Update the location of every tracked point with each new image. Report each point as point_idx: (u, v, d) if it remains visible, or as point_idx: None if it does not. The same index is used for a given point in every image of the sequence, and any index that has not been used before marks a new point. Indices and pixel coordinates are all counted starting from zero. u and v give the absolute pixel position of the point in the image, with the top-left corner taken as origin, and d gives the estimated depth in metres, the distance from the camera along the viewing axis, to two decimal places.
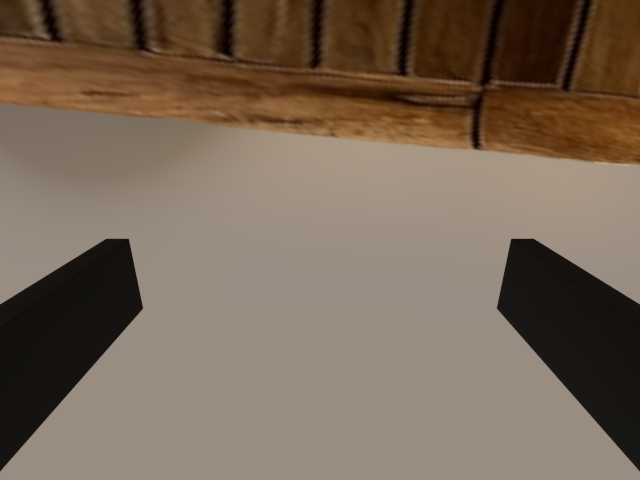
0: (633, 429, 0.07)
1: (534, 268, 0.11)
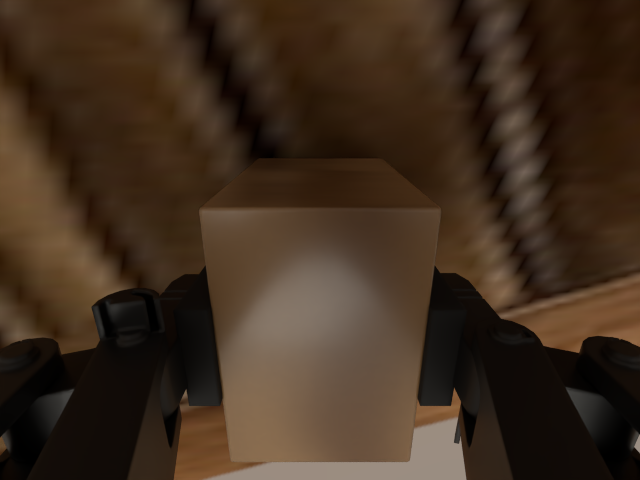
0: None
1: None
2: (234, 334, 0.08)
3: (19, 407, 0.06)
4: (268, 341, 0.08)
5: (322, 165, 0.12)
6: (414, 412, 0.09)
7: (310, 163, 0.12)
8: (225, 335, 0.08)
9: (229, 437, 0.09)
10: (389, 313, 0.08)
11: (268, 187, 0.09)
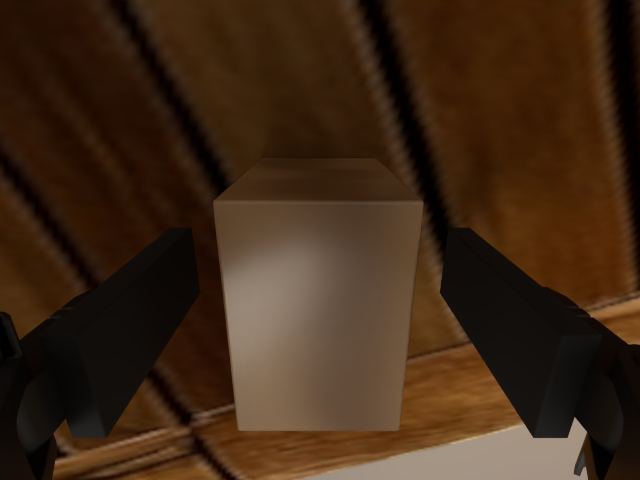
0: (520, 387, 0.08)
1: (462, 252, 0.12)
2: (242, 313, 0.09)
3: None
4: (273, 319, 0.09)
5: (321, 164, 0.13)
6: (403, 384, 0.10)
7: (310, 162, 0.14)
8: (235, 314, 0.09)
9: (237, 407, 0.10)
10: (379, 294, 0.09)
11: (272, 183, 0.10)
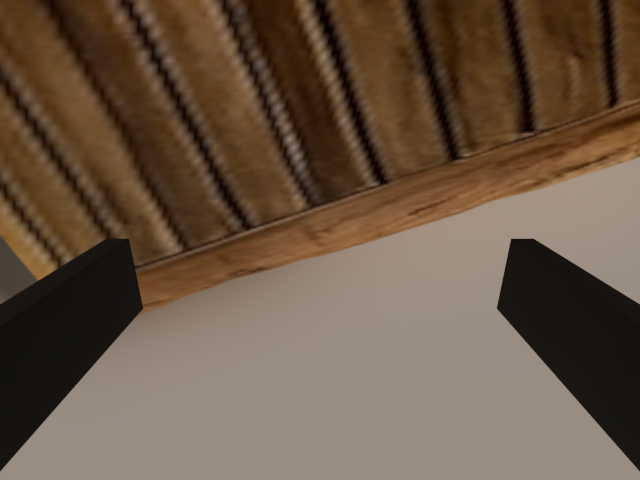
0: (633, 429, 0.07)
1: (533, 267, 0.11)
2: None
3: None
4: None
5: None
6: None
7: None
8: None
9: None
10: None
11: None
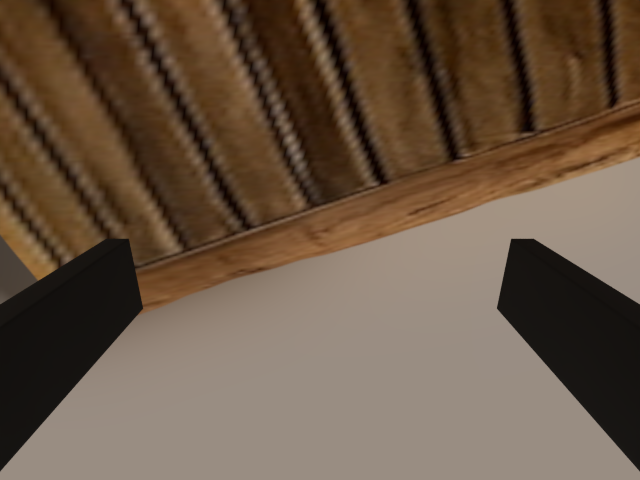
0: (633, 429, 0.07)
1: (533, 267, 0.11)
2: None
3: None
4: None
5: None
6: None
7: None
8: None
9: None
10: None
11: None
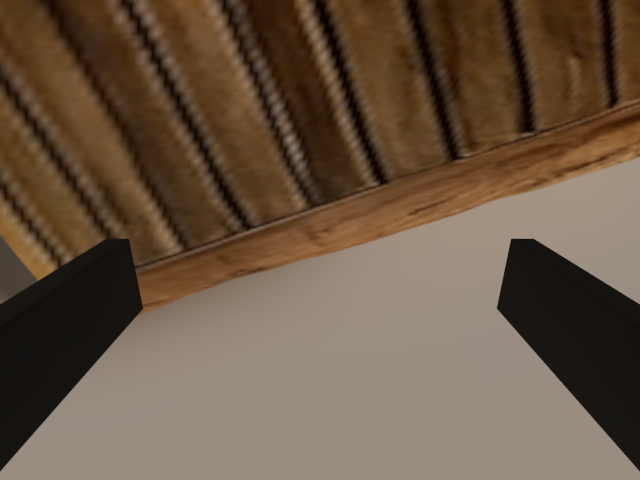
0: (633, 429, 0.07)
1: (533, 267, 0.11)
2: None
3: None
4: None
5: None
6: None
7: None
8: None
9: None
10: None
11: None
